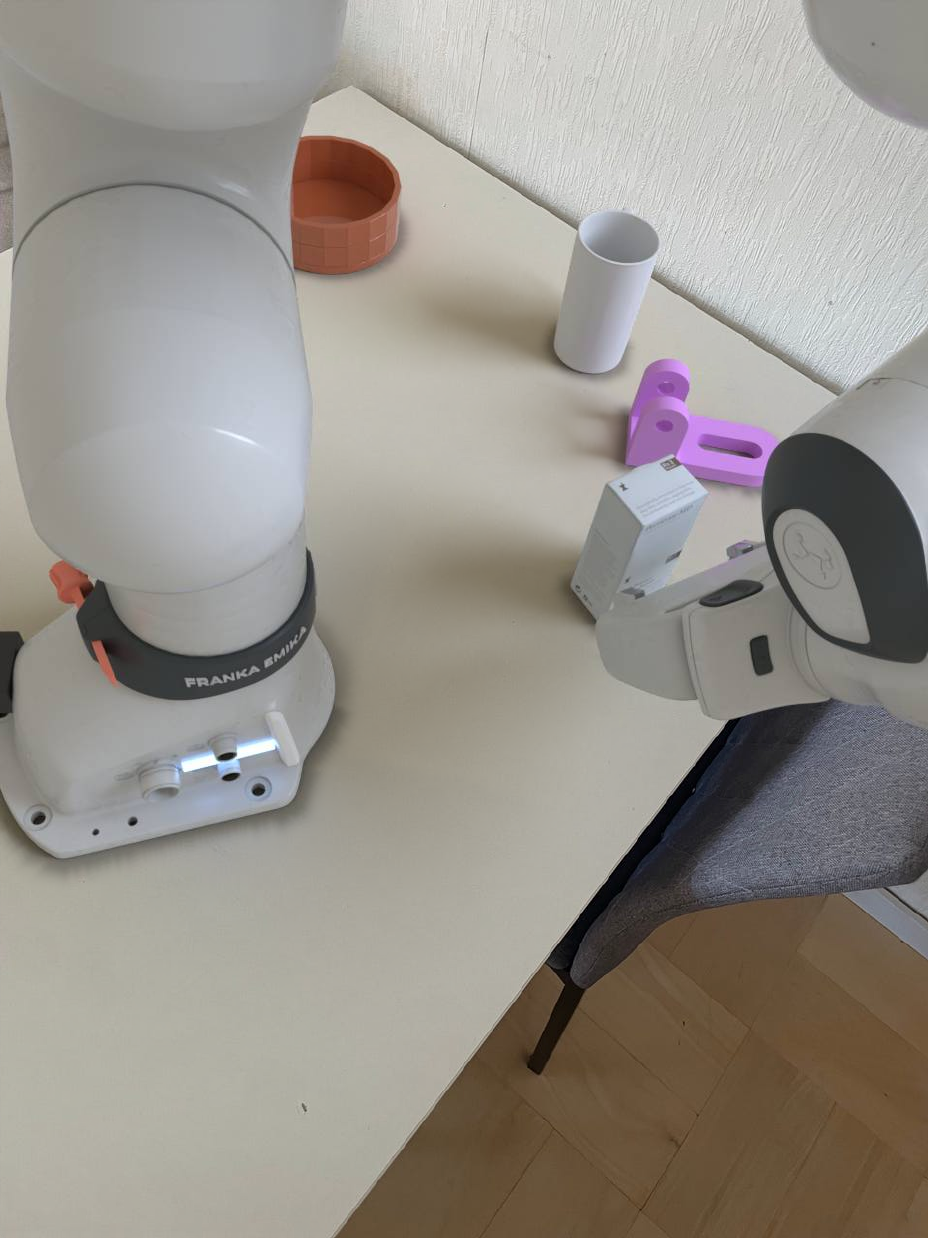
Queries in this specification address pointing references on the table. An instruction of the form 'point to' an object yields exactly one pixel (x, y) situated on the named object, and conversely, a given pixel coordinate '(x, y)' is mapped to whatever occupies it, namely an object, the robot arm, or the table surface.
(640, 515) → the cosmetic box
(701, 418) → the bracket
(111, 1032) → the table surface
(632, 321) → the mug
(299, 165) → the bowl
